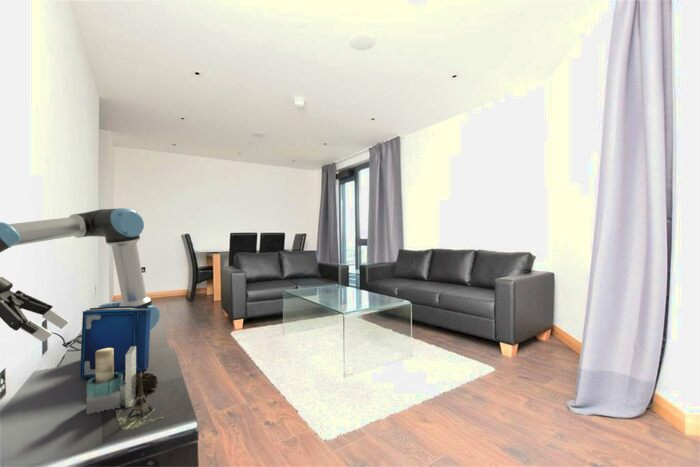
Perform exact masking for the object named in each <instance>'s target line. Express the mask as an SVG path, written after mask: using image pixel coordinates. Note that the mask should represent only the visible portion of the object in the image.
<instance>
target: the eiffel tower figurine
mask: <svg viewBox="0 0 700 467" xmlns="http://www.w3.org/2000/svg"><path fill="white" fill-rule="evenodd" d="M139 373H140V372H139ZM139 373H138V374H139ZM142 373H143V372H142ZM142 373H140V374H139V376H140V380H139V390H138V392H137V396H136V399H135V402H134V404H133V405H132V409H131V410H130V412H129V413H128V415H126V416H125V417H124V416H123V417H120V418H119V417H116V416H115V418H116V420H117V423H118V426H119V427H120V430H131V429H135V428H138V427H141V426H146V425H149V424H151V423H154V422H156V421H158V420H162V419H164V416H163V415H162V416H160V417H155V418H150V419H148V420H147V419H146V418H147V417H149V416H150V414H152V413H153V412H154V411H155V410H156V408H154V407H153V406H152V405H151V404H150V403H149V401H147V399H146V397H145V393H144V392H143V384H142ZM118 412H119V411H118ZM118 412H115V413H118ZM122 412H123V411H122ZM115 413H114V414H115ZM123 413H124V412H123Z"/></svg>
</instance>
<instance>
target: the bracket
mask: <svg viewBox="0 0 700 467" xmlns="http://www.w3.org/2000/svg"><path fill="white" fill-rule="evenodd" d="M136 375H137V372H136V346H132V347H130V348H129V350H128V352H127V353H126V372H125V379H123V377H124V375H123V374H122V373H117V372H114V380H111V381H109V382H104V383H98V384H96V377H94V378H89V379H88V380H87V382H86V412H85V413H86V414H87V415H91V413H92V414H96V413H95V412H97V413H101V412H100V411H102V412H105V411H104V410H107V411H111V410H110V409H112V410H116V409H115V408H117V409H121V408H122V407H123V406H125V409H127V408H132V407H133V405H134V404H133V403H134V402H135V401H134V400H136V399H135V398H136V397H137V396H136V395H137V392H136ZM123 380H125V381H123Z"/></svg>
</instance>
